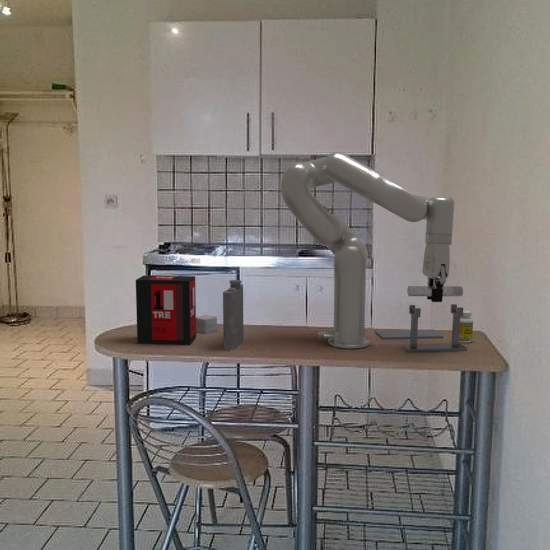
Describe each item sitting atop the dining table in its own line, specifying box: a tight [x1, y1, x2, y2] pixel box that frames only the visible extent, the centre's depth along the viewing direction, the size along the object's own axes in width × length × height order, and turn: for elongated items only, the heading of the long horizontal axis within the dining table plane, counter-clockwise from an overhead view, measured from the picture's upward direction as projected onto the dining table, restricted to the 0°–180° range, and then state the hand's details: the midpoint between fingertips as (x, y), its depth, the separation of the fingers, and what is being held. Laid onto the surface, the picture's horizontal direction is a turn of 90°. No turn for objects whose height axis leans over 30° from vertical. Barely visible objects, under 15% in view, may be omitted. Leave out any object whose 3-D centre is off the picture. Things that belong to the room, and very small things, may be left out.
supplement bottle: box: [459, 309, 474, 344], centre depth 202 cm, size 5×5×10 cm
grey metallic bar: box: [406, 285, 464, 297], centre depth 191 cm, size 16×3×3 cm, turn 96°
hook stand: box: [401, 303, 468, 353], centre depth 192 cm, size 18×6×13 cm, turn 96°
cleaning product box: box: [135, 275, 197, 346], centre depth 200 cm, size 16×9×20 cm, turn 85°
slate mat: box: [374, 329, 444, 340], centre depth 210 cm, size 20×9×1 cm, turn 96°
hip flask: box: [222, 279, 244, 352], centre depth 196 cm, size 16×4×20 cm, turn 170°
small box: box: [196, 314, 218, 335], centre depth 214 cm, size 6×6×5 cm
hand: (434, 300), depth 191 cm, fingers closed on grey metallic bar, 3 cm apart
